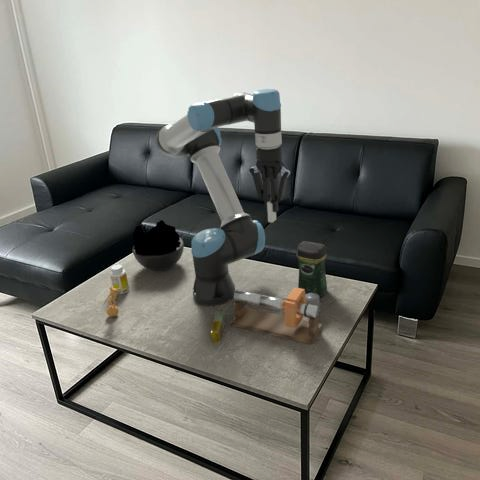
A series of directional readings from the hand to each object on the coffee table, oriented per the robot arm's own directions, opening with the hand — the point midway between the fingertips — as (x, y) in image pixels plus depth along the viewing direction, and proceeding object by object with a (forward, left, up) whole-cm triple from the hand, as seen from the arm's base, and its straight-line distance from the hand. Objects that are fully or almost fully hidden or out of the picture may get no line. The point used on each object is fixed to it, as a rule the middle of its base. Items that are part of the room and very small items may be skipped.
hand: (272, 220), depth 148 cm
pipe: (+5, -12, -24) cm, 27 cm away
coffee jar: (+9, +11, -31) cm, 34 cm away
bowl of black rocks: (-53, +8, -31) cm, 62 cm away
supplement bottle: (-57, -12, -31) cm, 66 cm away
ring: (+11, -12, -27) cm, 32 cm away
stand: (+5, -12, -31) cm, 33 cm away
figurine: (-48, -26, -31) cm, 63 cm away
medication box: (-11, -20, -31) cm, 39 cm away
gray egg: (+13, -1, -31) cm, 33 cm away
